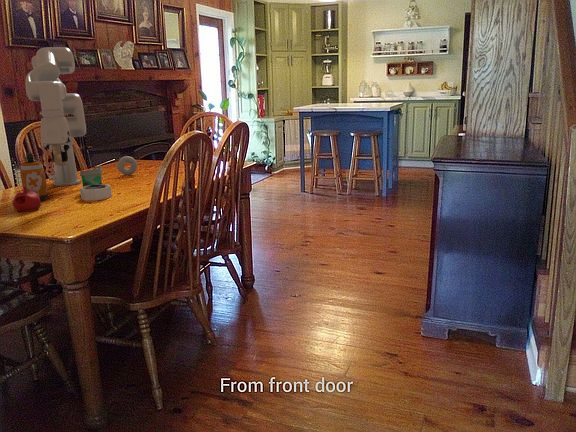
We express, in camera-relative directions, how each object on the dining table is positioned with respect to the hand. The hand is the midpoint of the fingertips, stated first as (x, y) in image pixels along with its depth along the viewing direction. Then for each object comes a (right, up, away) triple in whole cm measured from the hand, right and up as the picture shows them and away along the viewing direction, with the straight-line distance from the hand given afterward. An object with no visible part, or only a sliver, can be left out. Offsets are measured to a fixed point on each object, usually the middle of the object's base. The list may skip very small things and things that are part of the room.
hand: (60, 161), depth 195 cm
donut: (+7, 0, +63) cm, 63 cm away
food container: (+4, -10, +27) cm, 29 cm away
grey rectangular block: (0, -2, 0) cm, 2 cm away
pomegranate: (-11, -19, -4) cm, 23 cm away
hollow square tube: (+9, -14, +13) cm, 21 cm away
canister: (-16, -15, +13) cm, 25 cm away
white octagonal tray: (+9, -14, +13) cm, 21 cm away
